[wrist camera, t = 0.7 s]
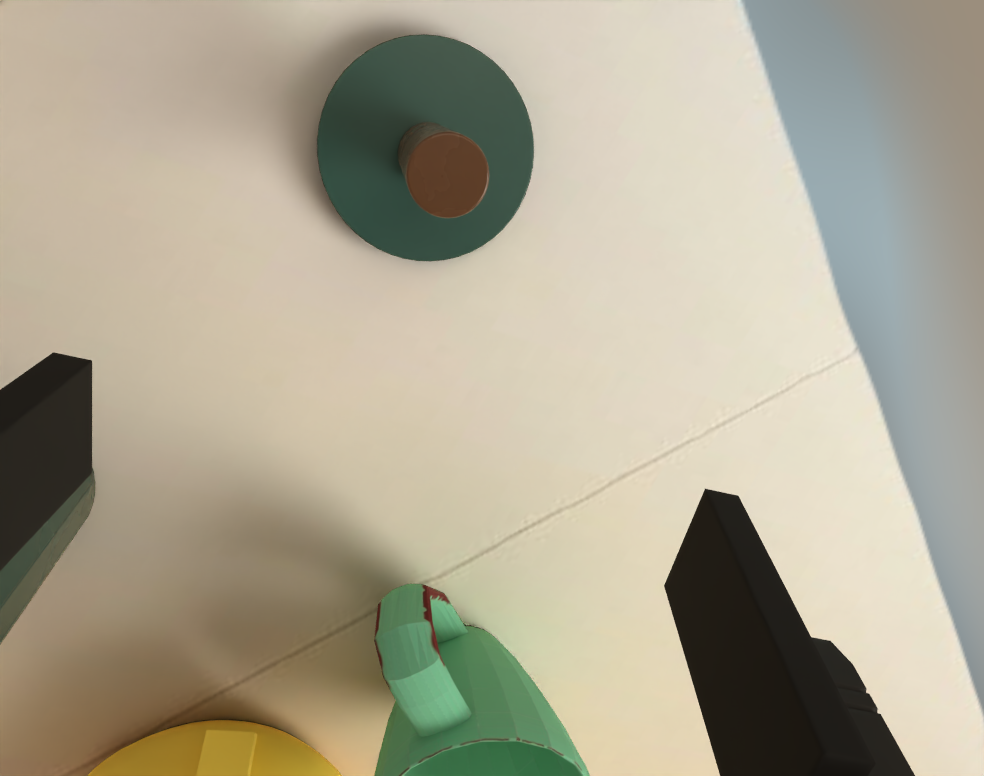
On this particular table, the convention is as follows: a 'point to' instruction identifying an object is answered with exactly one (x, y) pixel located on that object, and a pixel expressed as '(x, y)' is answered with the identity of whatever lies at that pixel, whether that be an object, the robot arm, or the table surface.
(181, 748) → the teapot
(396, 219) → the ring toss peg stand
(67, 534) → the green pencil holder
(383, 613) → the mug
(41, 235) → the table surface
